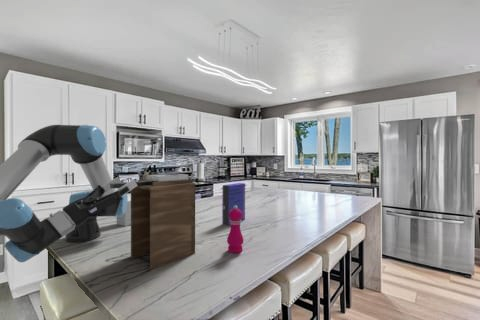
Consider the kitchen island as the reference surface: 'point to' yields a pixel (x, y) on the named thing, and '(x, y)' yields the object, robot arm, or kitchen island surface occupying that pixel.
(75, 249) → the kitchen island surface
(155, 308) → the kitchen island surface
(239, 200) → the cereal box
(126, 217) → the supplement box
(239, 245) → the pepper mill
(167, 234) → the stand
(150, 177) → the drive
